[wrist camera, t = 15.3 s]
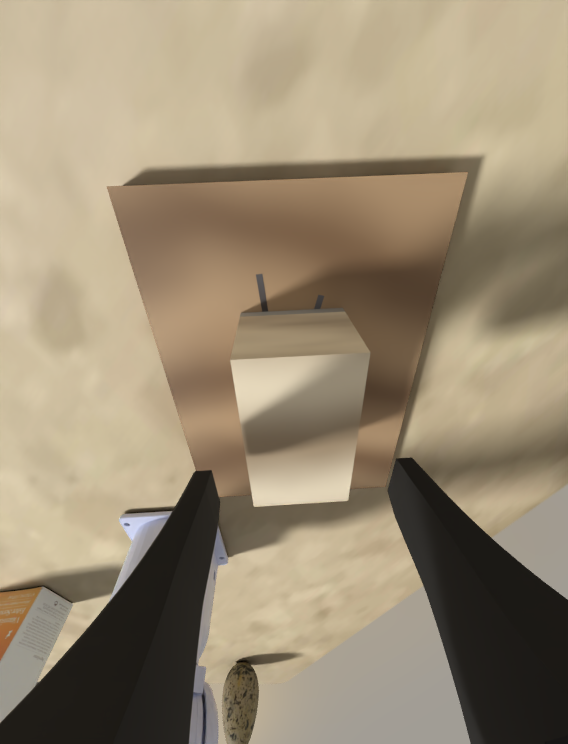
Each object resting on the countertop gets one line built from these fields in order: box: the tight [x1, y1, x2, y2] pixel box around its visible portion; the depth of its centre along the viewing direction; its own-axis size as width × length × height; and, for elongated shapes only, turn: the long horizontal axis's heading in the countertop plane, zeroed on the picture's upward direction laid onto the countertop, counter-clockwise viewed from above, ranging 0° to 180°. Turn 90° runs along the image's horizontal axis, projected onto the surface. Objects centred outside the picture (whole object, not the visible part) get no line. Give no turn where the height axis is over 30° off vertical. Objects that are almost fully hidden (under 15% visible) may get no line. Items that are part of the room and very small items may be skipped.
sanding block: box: [230, 308, 370, 507], centre depth 14 cm, size 9×5×4 cm, turn 2°
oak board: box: [107, 172, 468, 497], centre depth 17 cm, size 20×14×1 cm
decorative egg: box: [222, 662, 259, 744], centre depth 46 cm, size 6×6×10 cm
